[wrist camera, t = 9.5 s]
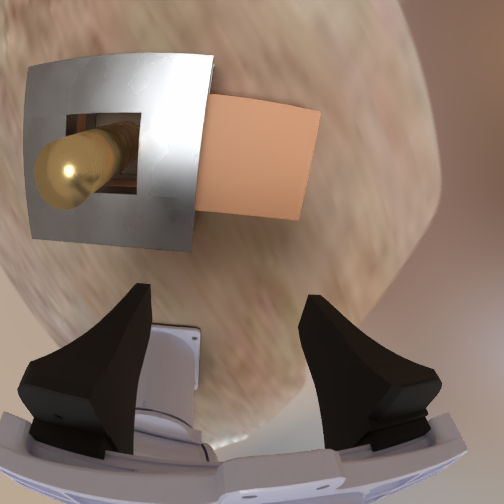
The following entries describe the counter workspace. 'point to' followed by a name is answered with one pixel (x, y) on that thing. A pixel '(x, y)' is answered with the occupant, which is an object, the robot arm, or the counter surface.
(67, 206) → the brass pin
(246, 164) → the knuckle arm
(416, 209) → the counter surface
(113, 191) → the bracket
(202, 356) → the counter surface
